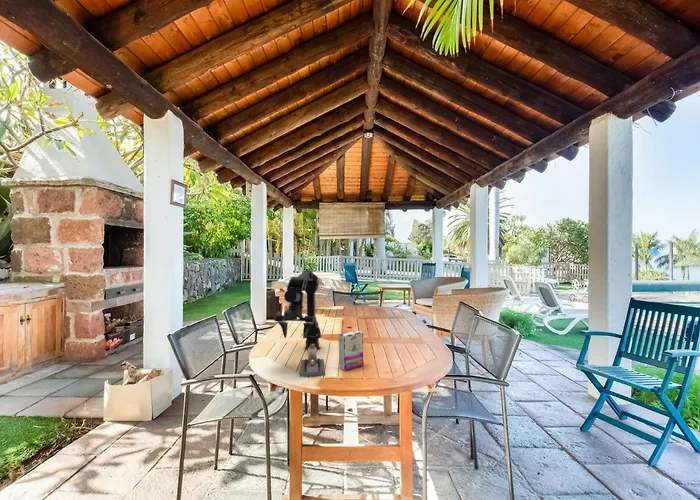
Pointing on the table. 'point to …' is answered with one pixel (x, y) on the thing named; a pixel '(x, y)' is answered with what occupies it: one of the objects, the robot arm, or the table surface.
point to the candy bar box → (350, 350)
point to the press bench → (320, 373)
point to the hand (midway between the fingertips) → (294, 338)
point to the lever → (312, 353)
